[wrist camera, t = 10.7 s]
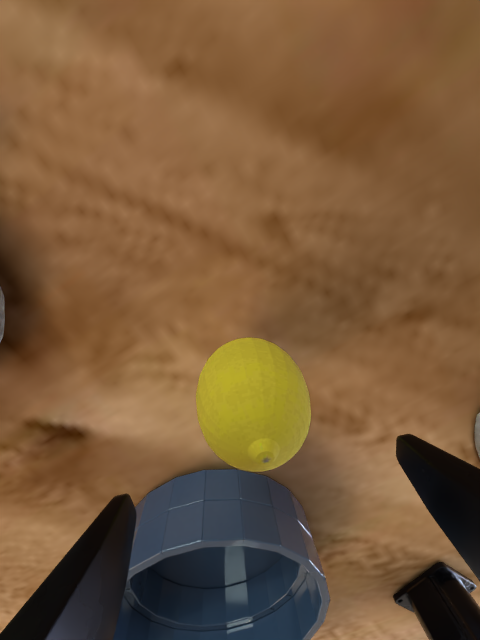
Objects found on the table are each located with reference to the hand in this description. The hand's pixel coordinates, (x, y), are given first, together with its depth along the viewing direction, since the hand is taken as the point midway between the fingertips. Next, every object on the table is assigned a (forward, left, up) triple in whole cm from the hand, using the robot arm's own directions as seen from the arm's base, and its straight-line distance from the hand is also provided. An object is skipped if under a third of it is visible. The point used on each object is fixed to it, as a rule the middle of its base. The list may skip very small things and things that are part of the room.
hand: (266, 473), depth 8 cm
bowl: (-9, +14, -9) cm, 19 cm away
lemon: (0, 0, -9) cm, 9 cm away
